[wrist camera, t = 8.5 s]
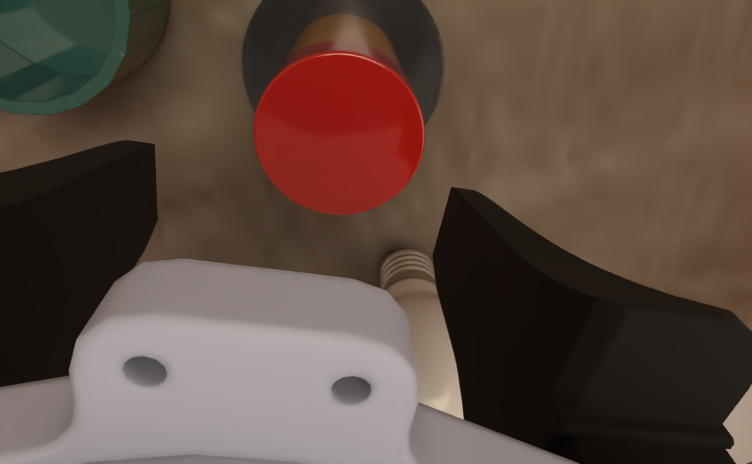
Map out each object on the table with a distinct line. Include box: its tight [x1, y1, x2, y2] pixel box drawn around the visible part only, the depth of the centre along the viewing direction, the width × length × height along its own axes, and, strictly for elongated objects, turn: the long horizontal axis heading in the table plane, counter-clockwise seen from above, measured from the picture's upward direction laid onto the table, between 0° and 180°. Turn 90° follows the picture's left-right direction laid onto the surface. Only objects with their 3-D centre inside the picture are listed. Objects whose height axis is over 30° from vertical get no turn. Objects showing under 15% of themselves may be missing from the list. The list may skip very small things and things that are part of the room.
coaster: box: [242, 0, 444, 125], centre depth 21 cm, size 8×8×1 cm
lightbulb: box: [380, 249, 464, 419], centre depth 21 cm, size 6×6×11 cm
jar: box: [253, 14, 425, 215], centre depth 17 cm, size 5×5×8 cm
